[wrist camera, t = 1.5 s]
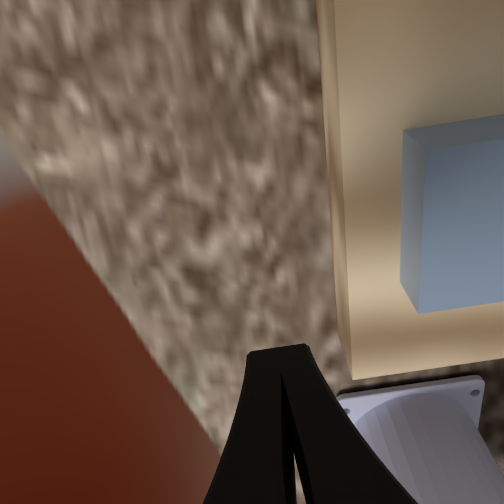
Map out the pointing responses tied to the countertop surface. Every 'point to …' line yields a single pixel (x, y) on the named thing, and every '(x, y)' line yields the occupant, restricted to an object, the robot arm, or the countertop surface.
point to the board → (399, 165)
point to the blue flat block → (453, 214)
